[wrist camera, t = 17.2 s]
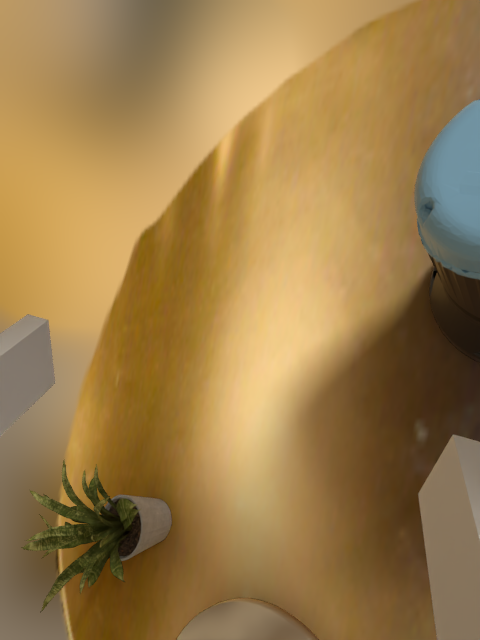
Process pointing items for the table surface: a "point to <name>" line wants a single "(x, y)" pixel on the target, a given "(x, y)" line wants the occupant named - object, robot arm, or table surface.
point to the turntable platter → (245, 623)
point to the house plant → (101, 530)
